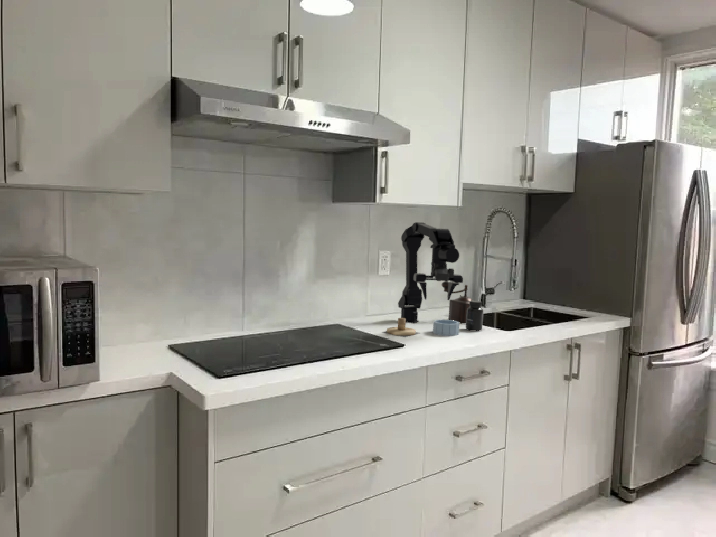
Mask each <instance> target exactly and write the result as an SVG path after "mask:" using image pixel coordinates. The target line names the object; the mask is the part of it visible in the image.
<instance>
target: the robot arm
mask: <svg viewBox="0 0 716 537" xmlns="http://www.w3.org/2000/svg"><path fill="white" fill-rule="evenodd" d="M425 236H426V237H427V238H428V240H429V241H430V242H431V243H432V245H430V249H432V251H431V262H430V264H431V269H430V270H431V271H430V275H427V274H426V273H420V272H418V252H419V249H420V248H421V247H422V241H423V240H424V238H425ZM400 239H401V245H402V247H403V250H404V252H405V282H406V283H405V286H404V288H403V289H402V294H401V297H400V299H399V300H398V302H397V306H398V308H399V309H401V312H400V318H405V319H406V323H409V324H415V323H419V320H418V315H419V314H418V313H419V312H418V309H421V306H422V302H423V298H424V300H427V285H428V284H427V282H426V281H437V282H441V281H443V282H444V281H448V282H449V284H448V293H447V297H446V298H447V301H450V300H451V297H452V292H454V290H455V288H456V287H457V286H460V284H463V283H464V277H463V276H462V275H461V274H457V273H455V270H454V268H448V266H447V265H448V264H447V263H452V264H454V263H456V262H458V260H459V259H460V252H459V250H458V248H456V245H455V241H454V239H453V236H452V234H451V231H450V229H449V228H437V227H434V226H432V225H429V224H426V222H413V223H412V225H411V226H409V227H407V228H405V230H404V231H403V233H402V234H401V238H400ZM418 284H419V285H418ZM419 286H420V287H419Z"/></svg>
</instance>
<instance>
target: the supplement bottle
mask: <svg viewBox="0 0 716 537" xmlns="http://www.w3.org/2000/svg"><path fill="white" fill-rule="evenodd" d="M482 303H483V302H482V301H480V300H474V301H470V307H468V308H467V314H466V324H465V330H467V329H468V330H467V331H470V330H476V331H475V332H480V331H479V330H481V331H482V330H483V322H484V308H482V306H483V305H482ZM477 330H478V331H477Z"/></svg>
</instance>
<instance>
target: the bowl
mask: <svg viewBox="0 0 716 537" xmlns="http://www.w3.org/2000/svg"><path fill="white" fill-rule="evenodd" d="M432 324H433V326H432V327H433V328H432V333H433V334H435V335H438V336H446V337H447V336H448V337H449V336H450V337H454V336H458V335H459V333H460V323H459V322H457V321H453V320H449V319H434V320H433V323H432Z"/></svg>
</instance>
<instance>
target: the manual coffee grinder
mask: <svg viewBox="0 0 716 537" xmlns="http://www.w3.org/2000/svg"><path fill="white" fill-rule="evenodd" d="M449 282H450V281H443V282H442V283H441V286H442V287H443V292H445V293H447V294H448V284H449ZM468 287H469V286H468V285H467V284H464V288H463V289H460V290H455V291H453V292H452V294H459V293H464V295H459V297H457V298H455V299H449V302H448V303H449V304H448V305H449V306H448V319H447V320H449V319H451V320H454V321H457V322H460V323H459V324H462V323H466V314H467V308H468V307H470V301H475V300H473V299H472V298H471V297H469V296H467V295H468V294H467V293H468ZM452 294H451V295H452Z"/></svg>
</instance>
